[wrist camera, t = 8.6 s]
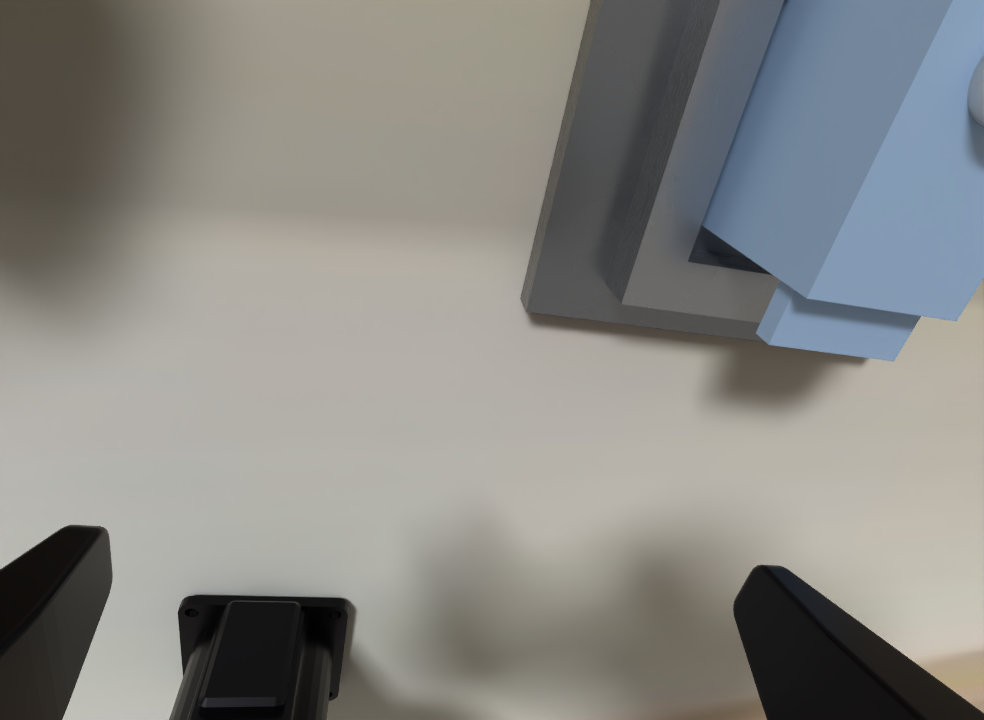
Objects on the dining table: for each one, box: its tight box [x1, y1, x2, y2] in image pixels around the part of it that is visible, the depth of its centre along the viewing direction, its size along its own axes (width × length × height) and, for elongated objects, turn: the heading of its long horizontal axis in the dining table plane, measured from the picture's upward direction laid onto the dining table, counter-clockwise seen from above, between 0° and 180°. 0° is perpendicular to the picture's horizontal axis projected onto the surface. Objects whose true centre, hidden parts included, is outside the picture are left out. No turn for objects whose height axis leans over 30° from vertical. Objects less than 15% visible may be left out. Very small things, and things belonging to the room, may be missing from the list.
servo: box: [701, 0, 984, 361], centre depth 14 cm, size 9×4×6 cm, turn 168°
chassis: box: [520, 0, 784, 342], centre depth 16 cm, size 13×13×2 cm
